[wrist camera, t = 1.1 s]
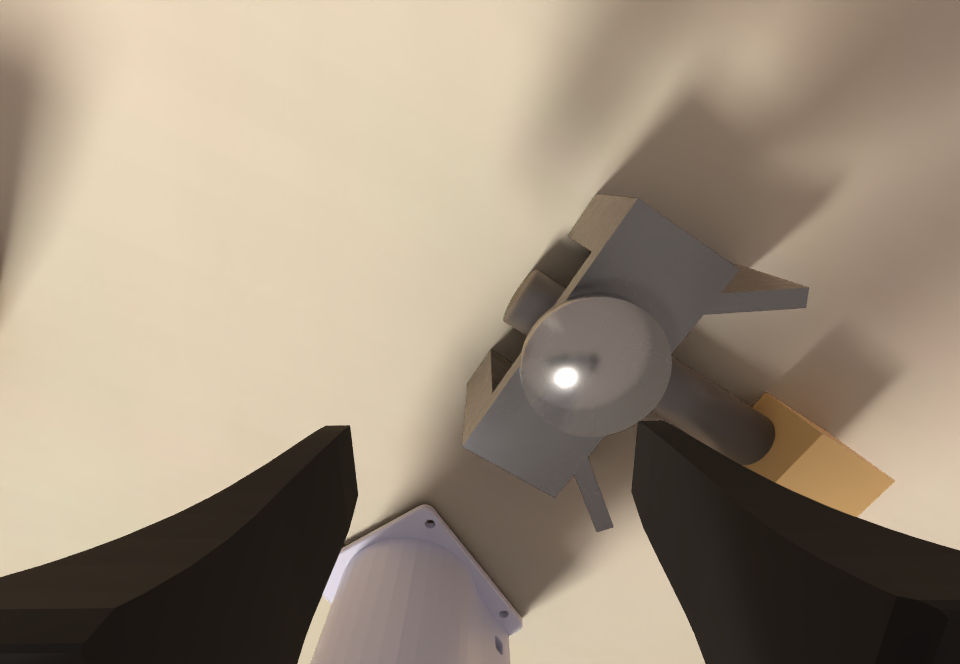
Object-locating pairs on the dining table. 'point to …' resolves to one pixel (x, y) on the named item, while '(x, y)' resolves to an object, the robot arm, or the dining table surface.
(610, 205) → the housing
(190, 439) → the dining table surface
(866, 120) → the dining table surface
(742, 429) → the plug
